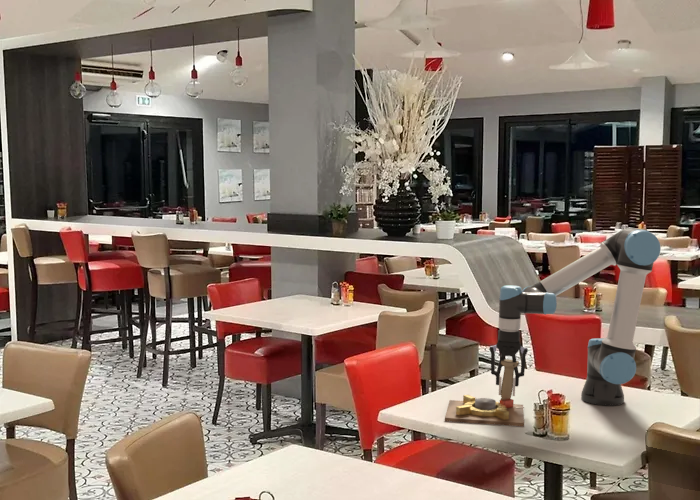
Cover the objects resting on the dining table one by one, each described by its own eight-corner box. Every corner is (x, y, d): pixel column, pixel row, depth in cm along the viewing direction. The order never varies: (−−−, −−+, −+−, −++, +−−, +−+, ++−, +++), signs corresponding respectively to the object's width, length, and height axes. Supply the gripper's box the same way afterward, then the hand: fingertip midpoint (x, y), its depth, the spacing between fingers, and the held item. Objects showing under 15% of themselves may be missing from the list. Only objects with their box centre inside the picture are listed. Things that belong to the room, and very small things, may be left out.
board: (523, 408, 289) (524, 394, 288) (524, 426, 267) (525, 412, 267) (449, 403, 294) (449, 390, 293) (444, 421, 272) (445, 407, 272)
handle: (516, 404, 287) (521, 362, 285) (502, 405, 284) (506, 363, 282) (508, 399, 291) (513, 359, 290) (493, 400, 288) (498, 359, 287)
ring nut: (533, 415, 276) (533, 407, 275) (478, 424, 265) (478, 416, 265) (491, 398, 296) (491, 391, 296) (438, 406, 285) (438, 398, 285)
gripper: (534, 329, 288) (531, 393, 290) (484, 326, 291) (482, 390, 293) (534, 333, 280) (531, 399, 282) (484, 330, 284) (481, 395, 286)
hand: (506, 394), depth 288 cm, fingers closed on handle, 4 cm apart
